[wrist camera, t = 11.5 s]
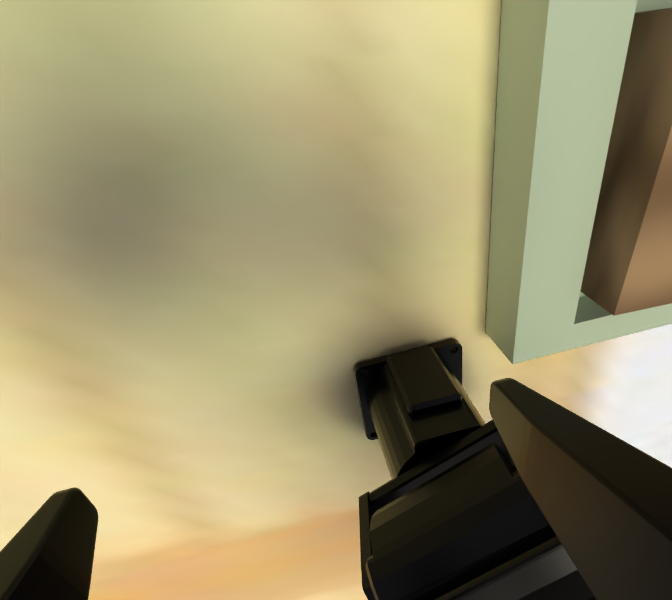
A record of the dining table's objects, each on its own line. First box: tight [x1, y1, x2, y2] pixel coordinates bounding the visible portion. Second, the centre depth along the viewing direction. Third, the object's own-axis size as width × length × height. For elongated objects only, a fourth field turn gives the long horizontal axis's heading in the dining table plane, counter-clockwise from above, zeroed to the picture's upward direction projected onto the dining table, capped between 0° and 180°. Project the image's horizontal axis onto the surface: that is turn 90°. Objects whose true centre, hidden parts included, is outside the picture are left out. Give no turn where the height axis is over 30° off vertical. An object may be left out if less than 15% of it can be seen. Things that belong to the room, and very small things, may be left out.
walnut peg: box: [580, 8, 672, 316], centre depth 18 cm, size 12×4×4 cm, turn 6°
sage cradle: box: [486, 0, 672, 364], centre depth 19 cm, size 18×12×3 cm, turn 9°
